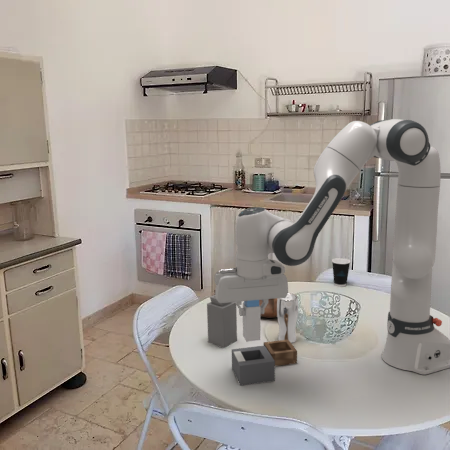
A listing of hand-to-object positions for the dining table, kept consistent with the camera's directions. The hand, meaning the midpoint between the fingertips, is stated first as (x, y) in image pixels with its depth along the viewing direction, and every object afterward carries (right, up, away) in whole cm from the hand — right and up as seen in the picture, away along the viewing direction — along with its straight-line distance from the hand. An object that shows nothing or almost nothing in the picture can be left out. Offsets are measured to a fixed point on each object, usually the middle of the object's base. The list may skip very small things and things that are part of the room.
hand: (251, 314), depth 138 cm
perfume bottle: (-8, -14, +25) cm, 30 cm away
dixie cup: (+43, -1, +77) cm, 88 cm away
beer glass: (+13, -13, +26) cm, 32 cm away
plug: (0, -7, +2) cm, 7 cm away
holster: (+9, -16, +13) cm, 22 cm away
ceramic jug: (+9, -9, +47) cm, 48 cm away
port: (0, -18, +4) cm, 18 cm away
